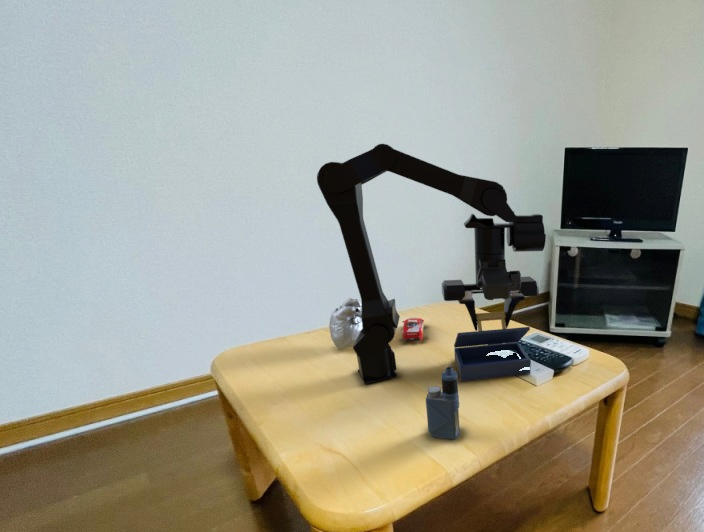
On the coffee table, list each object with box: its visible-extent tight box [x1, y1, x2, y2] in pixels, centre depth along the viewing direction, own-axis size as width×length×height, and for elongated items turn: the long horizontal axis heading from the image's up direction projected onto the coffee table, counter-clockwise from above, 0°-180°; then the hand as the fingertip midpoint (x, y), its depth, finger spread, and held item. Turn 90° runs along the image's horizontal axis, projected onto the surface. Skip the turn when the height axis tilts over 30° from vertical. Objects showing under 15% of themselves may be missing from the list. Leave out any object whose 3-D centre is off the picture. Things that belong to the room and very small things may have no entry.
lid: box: [453, 311, 531, 349], centre depth 83 cm, size 10×15×5 cm
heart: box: [328, 297, 363, 351], centre depth 92 cm, size 10×10×12 cm
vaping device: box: [425, 366, 461, 440], centre depth 60 cm, size 3×5×12 cm, turn 78°
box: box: [453, 341, 532, 383], centre depth 84 cm, size 10×15×3 cm, turn 105°
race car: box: [401, 317, 425, 342], centre depth 101 cm, size 13×5×4 cm, turn 9°
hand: (490, 328), depth 81 cm, fingers closed on lid, 6 cm apart
